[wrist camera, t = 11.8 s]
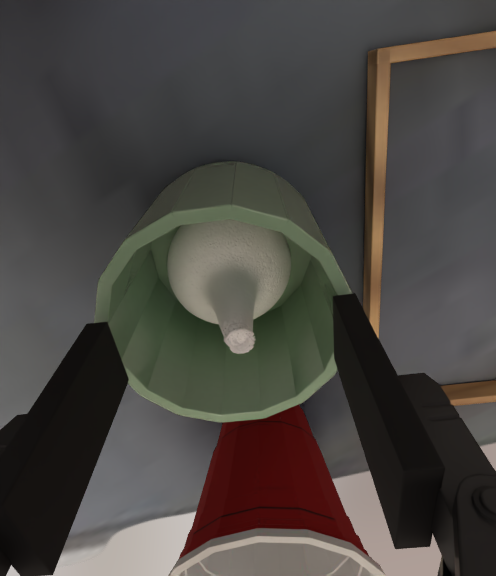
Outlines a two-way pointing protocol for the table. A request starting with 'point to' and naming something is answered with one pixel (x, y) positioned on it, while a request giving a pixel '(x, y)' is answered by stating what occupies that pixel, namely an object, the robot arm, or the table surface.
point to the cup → (208, 336)
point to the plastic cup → (271, 508)
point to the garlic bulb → (229, 275)
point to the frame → (377, 177)
